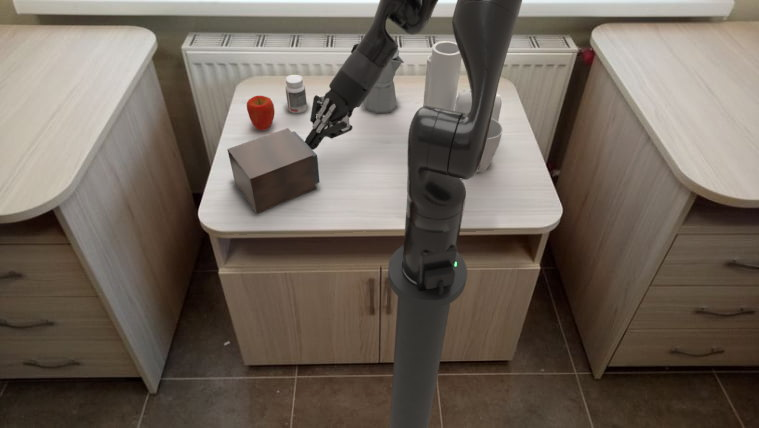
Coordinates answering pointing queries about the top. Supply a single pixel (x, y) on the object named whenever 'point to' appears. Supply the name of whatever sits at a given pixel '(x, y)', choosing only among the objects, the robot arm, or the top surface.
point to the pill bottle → (296, 94)
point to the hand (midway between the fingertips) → (308, 146)
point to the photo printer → (466, 101)
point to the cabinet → (272, 169)
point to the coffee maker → (383, 88)
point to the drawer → (313, 157)
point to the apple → (261, 112)
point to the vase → (442, 76)
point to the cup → (491, 144)
